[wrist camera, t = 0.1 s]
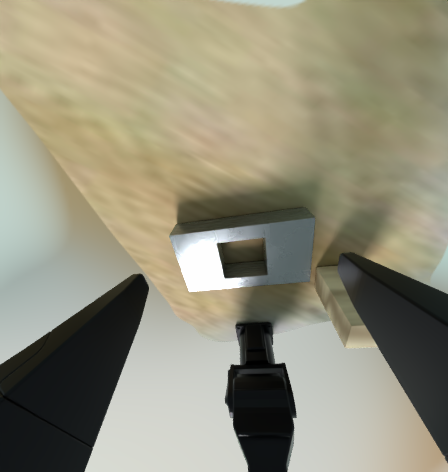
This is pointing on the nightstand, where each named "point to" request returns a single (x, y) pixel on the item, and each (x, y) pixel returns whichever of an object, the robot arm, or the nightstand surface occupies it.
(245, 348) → the robot arm
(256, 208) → the nightstand surface
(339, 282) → the ash peg
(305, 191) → the nightstand surface
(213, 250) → the grey slotted block
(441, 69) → the nightstand surface
